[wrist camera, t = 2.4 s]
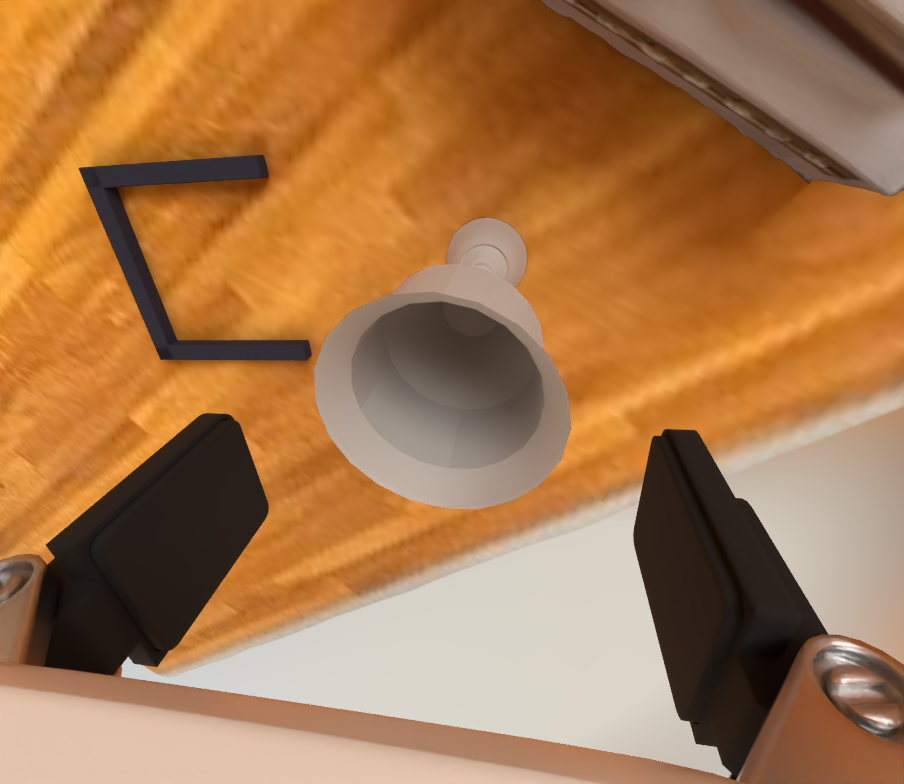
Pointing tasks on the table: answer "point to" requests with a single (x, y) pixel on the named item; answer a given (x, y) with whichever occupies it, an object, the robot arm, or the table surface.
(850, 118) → the bible
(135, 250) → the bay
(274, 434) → the table surface
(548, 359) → the chalice
